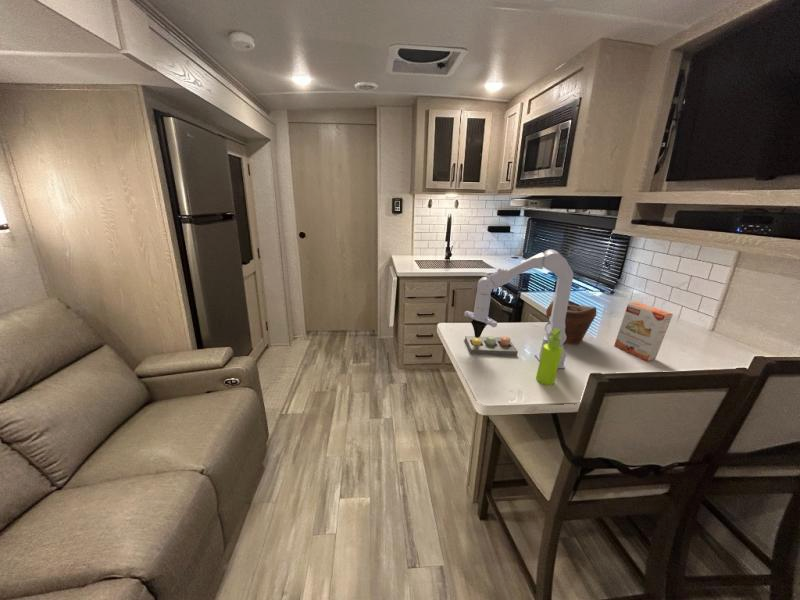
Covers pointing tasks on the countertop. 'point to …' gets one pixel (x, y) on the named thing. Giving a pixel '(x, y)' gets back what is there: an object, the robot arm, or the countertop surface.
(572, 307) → the brown basket
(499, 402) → the countertop surface
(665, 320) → the cracker box
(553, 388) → the countertop surface
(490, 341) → the button mid
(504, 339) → the button
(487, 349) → the panel
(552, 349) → the soap dispenser
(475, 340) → the button
